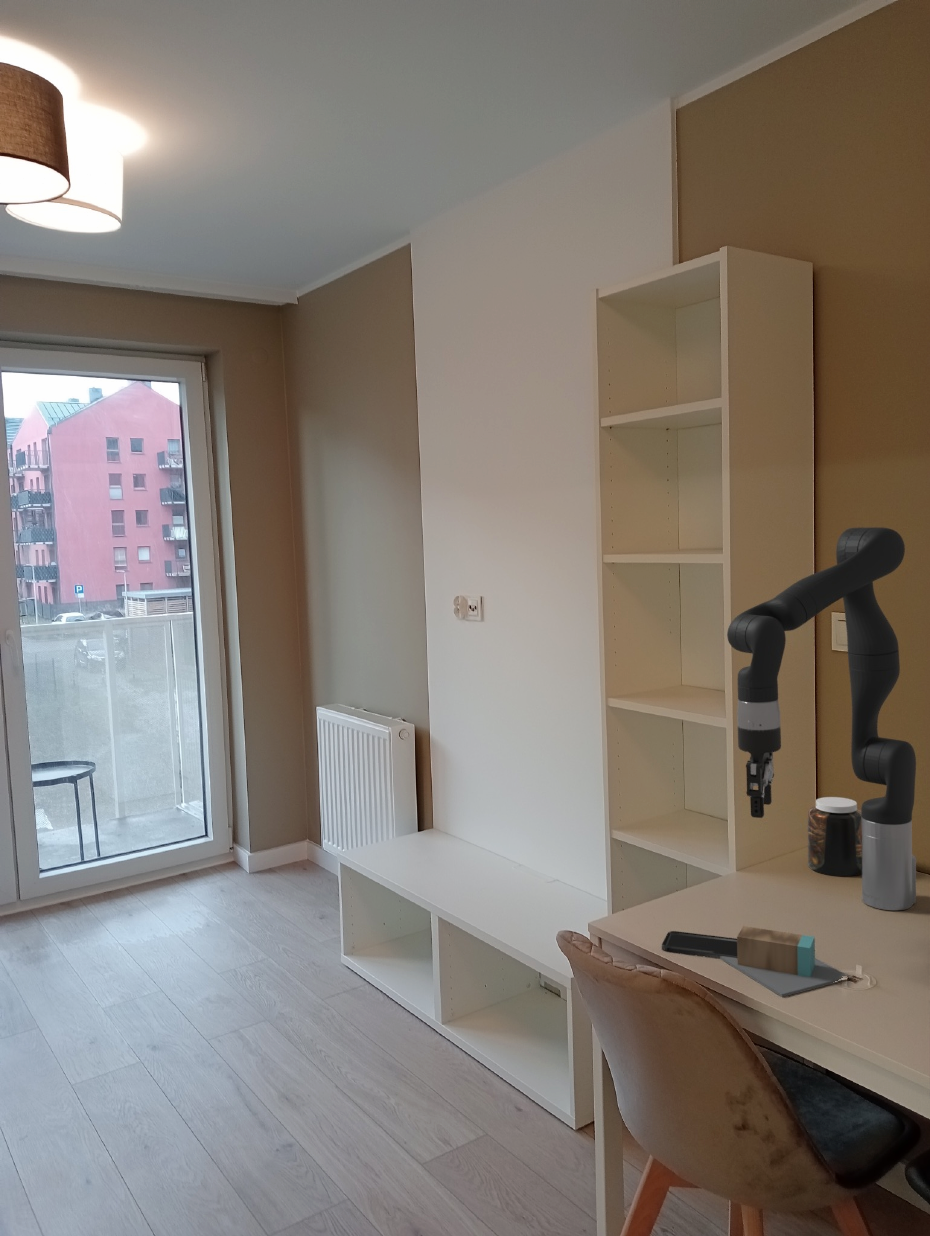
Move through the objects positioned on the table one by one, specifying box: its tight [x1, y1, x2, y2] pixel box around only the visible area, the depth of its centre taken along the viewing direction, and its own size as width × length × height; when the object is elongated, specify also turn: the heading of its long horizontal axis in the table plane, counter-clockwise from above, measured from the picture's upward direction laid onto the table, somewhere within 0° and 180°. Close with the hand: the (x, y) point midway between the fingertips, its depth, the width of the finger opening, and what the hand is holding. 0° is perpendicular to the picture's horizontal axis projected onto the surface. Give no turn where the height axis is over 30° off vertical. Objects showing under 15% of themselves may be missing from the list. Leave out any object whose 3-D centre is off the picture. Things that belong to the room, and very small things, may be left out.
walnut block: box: [736, 925, 816, 977], centre depth 165 cm, size 5×5×12 cm
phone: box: [661, 930, 737, 960], centre depth 174 cm, size 8×1×15 cm
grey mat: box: [720, 956, 850, 998], centre depth 165 cm, size 14×16×1 cm
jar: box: [807, 796, 862, 877], centre depth 212 cm, size 12×12×15 cm
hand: (761, 810), depth 176 cm, fingers open, 8 cm apart
